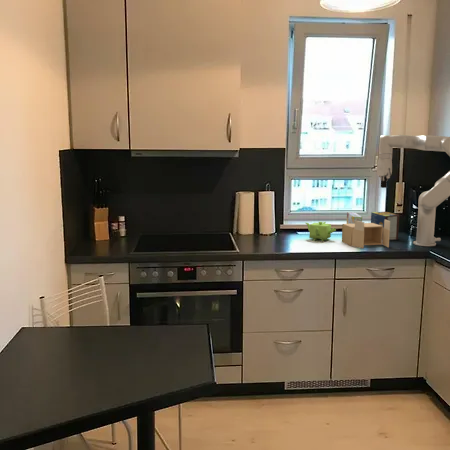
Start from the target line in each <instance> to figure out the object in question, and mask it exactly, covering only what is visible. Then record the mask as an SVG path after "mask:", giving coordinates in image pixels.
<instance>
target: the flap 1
mask: <svg viewBox="0 0 450 450" xmlns="http://www.w3.org/2000/svg"><path fill="white" fill-rule="evenodd" d="M364 223H365V222H364V221H362V222H360V221H355V229H353V234H352V246H351V247H355V248H359V249H363V250H364V246H365V245H364Z"/></svg>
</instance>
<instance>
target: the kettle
mask: <svg viewBox="0 0 450 450" xmlns="http://www.w3.org/2000/svg"><path fill="white" fill-rule="evenodd" d="M305 224H306V225H307V229H308V232H309V236H308V238H309V239H312V241H317V240H320V241H321V242H325V240H326V241H327V240H328V239H329V238H331V237H332V236H331V234H333V233H334V232H336V231H337V230H336V227H332V224H331V223H326V221H318V222H313V223H311V224H310V223H309V222H305Z"/></svg>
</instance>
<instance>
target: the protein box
mask: <svg viewBox="0 0 450 450" xmlns="http://www.w3.org/2000/svg"><path fill="white" fill-rule="evenodd" d="M384 220H388V221H390V235H389V241H394V240H399V227H400V214H397V213H392V212H388V211H373V212H372V211H371V213H370V223H375V224H378V225H381V226H383V228H384ZM382 238H383V234H382Z"/></svg>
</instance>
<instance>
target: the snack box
mask: <svg viewBox="0 0 450 450" xmlns="http://www.w3.org/2000/svg"><path fill="white" fill-rule="evenodd" d="M355 221H360V222H363V216H362V215H360V214H358V213H356V212H355V211H349V212H346V224H355Z"/></svg>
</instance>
